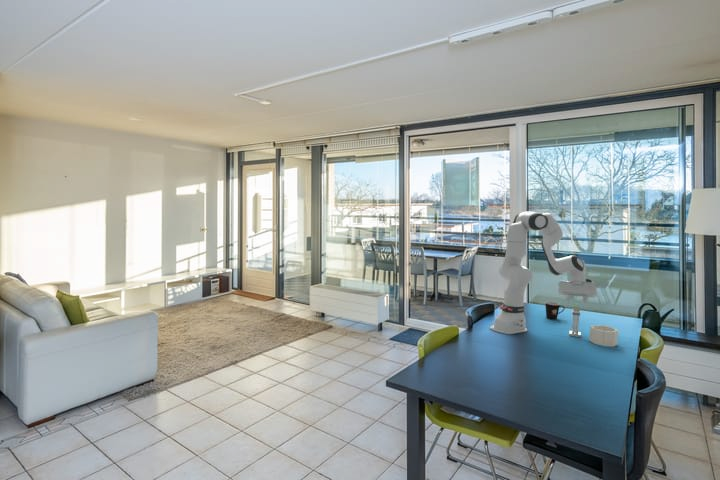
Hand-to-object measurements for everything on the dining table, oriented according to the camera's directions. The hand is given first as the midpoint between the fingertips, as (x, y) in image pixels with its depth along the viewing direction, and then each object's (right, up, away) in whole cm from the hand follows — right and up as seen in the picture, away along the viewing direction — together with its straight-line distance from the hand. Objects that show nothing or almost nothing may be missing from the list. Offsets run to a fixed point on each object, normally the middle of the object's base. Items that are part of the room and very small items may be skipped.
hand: (576, 301), depth 235 cm
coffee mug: (0, -16, +27) cm, 32 cm away
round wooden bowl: (+4, -20, -20) cm, 28 cm away
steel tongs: (-5, -19, -8) cm, 21 cm away
